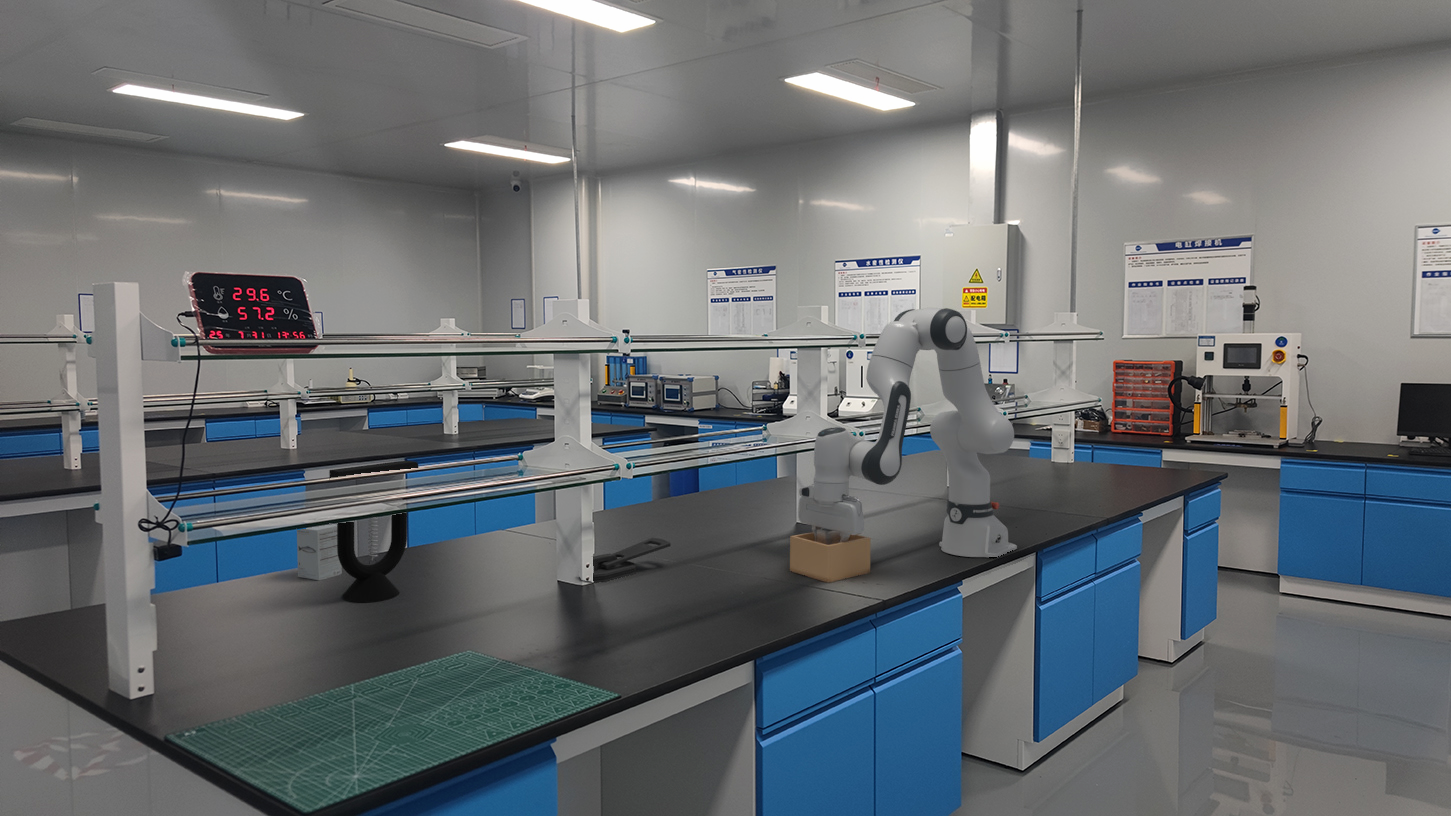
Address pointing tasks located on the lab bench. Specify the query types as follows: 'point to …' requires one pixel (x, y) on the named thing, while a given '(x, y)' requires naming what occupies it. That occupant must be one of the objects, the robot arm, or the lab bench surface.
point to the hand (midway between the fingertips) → (830, 546)
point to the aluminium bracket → (828, 536)
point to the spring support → (371, 577)
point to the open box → (829, 557)
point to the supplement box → (318, 552)
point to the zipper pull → (623, 560)
